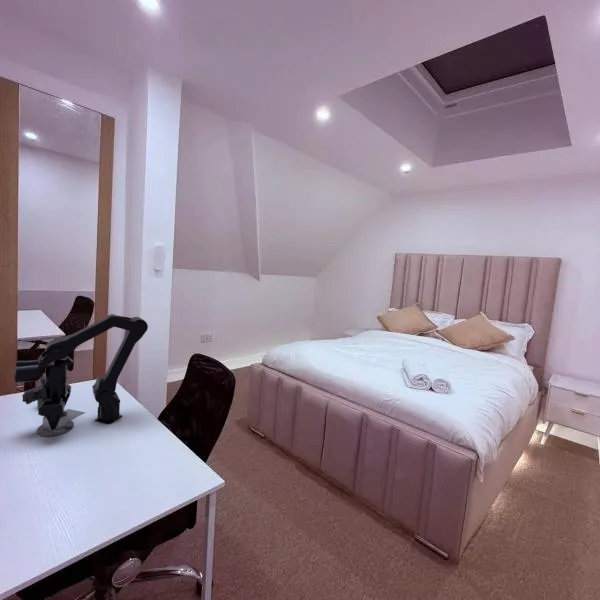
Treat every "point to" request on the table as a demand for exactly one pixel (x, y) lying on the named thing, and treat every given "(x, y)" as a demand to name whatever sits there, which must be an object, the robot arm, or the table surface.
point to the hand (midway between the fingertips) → (55, 422)
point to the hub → (55, 433)
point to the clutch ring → (60, 425)
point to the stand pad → (73, 413)
